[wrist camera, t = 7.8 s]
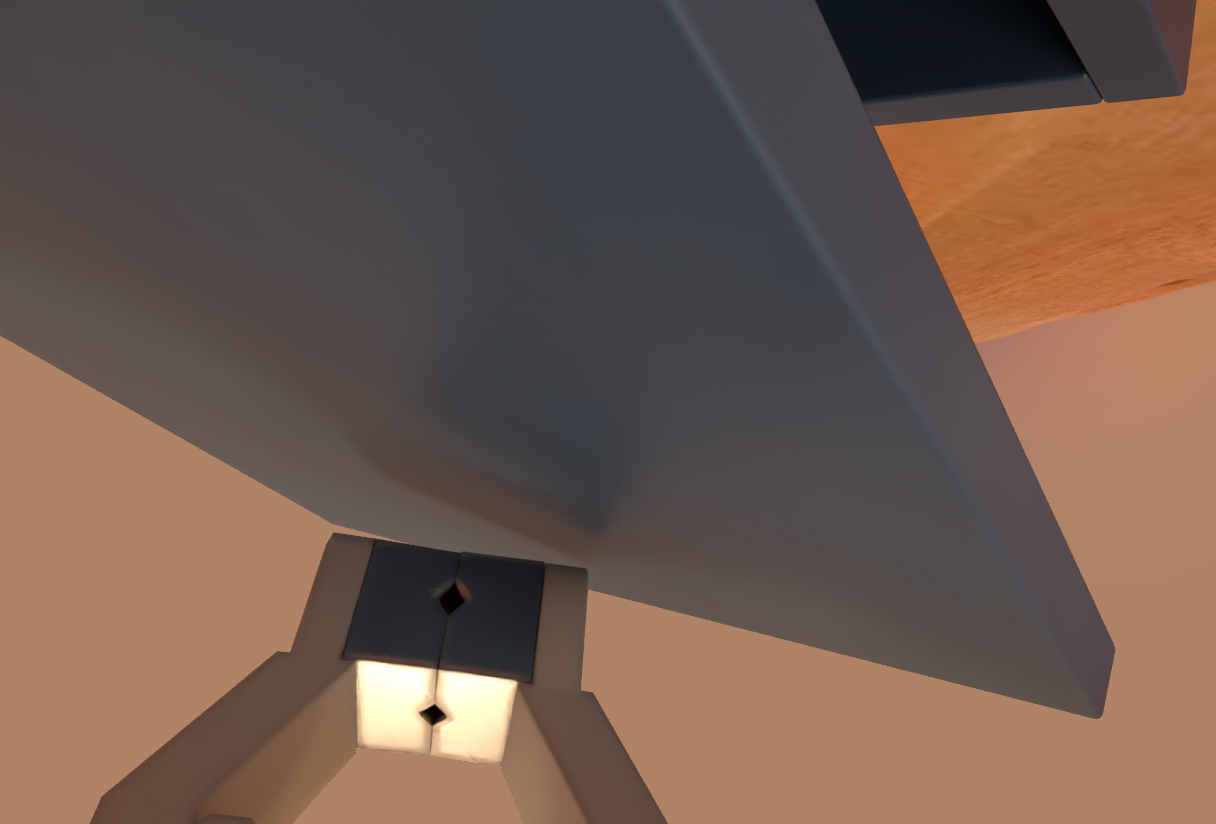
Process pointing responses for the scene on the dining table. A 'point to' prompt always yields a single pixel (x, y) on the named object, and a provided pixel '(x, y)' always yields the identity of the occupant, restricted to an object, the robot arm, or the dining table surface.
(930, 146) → the dining table surface
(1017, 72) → the box
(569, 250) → the box lid
